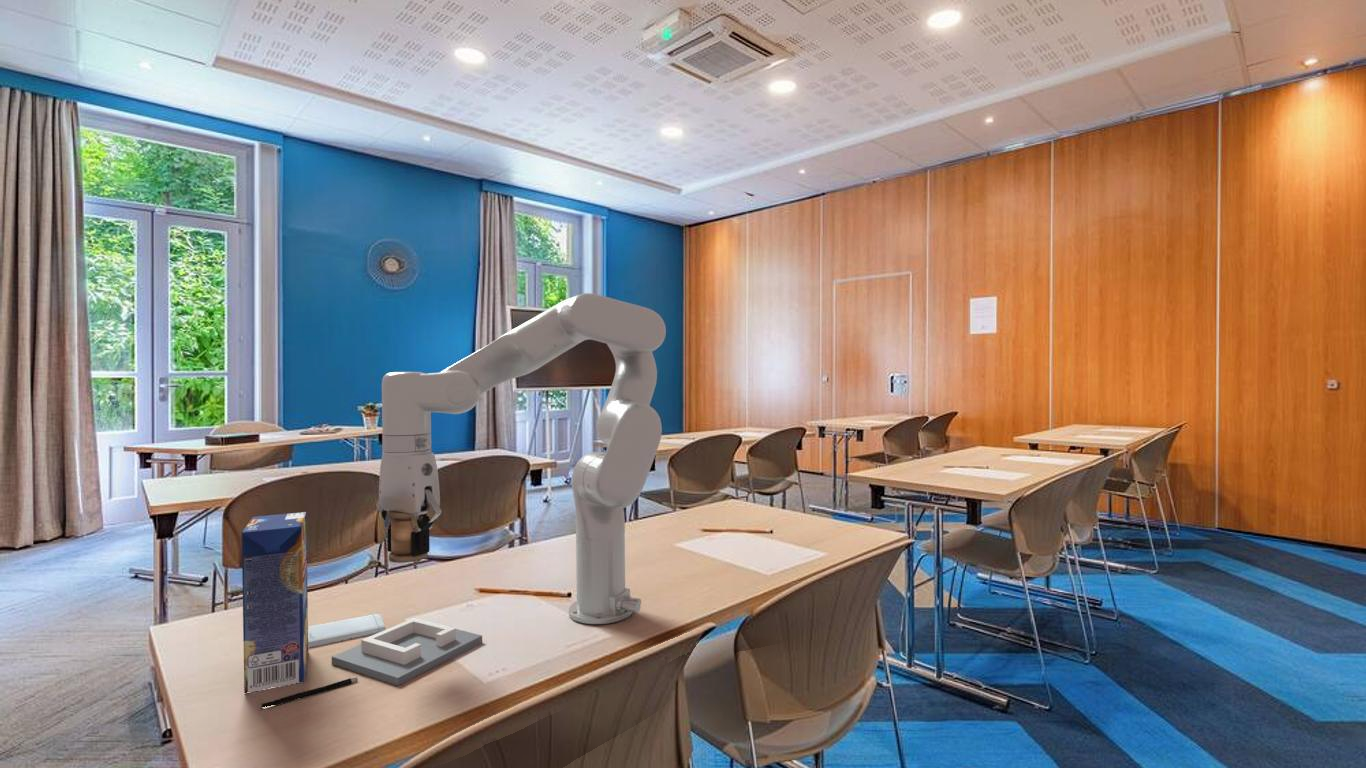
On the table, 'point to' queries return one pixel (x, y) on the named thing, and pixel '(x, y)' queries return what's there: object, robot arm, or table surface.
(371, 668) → the notched board
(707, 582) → the table surface
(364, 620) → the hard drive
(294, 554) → the juice carton
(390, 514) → the bobbin
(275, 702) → the black pencil
